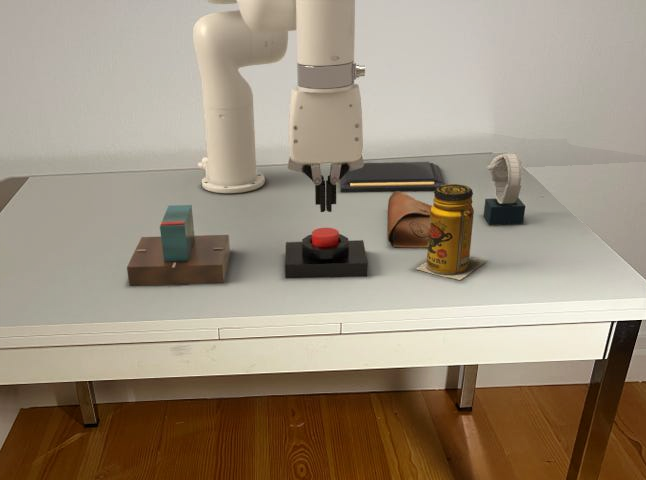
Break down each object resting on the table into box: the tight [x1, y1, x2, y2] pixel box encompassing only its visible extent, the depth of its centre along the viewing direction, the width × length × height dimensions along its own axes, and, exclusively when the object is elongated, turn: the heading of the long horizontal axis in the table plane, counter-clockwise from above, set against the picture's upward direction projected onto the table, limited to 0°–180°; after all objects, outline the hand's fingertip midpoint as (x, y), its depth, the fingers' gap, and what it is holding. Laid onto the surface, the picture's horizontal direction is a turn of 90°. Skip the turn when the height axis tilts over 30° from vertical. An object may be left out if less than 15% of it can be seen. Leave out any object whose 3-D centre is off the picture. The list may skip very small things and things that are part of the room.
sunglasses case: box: [387, 191, 433, 249], centre depth 126 cm, size 18×7×7 cm
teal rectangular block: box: [159, 204, 196, 262], centre depth 113 cm, size 9×4×6 cm, turn 178°
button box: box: [284, 233, 369, 279], centre depth 114 cm, size 12×9×4 cm
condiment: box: [414, 183, 487, 281], centre depth 109 cm, size 7×8×12 cm
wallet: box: [340, 161, 445, 193], centre depth 149 cm, size 20×2×15 cm
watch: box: [483, 153, 526, 226], centre depth 125 cm, size 6×8×11 cm
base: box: [126, 234, 231, 287], centre depth 115 cm, size 14×13×3 cm
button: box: [311, 227, 340, 247], centre depth 112 cm, size 4×4×2 cm
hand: (325, 208), depth 110 cm, fingers closed
